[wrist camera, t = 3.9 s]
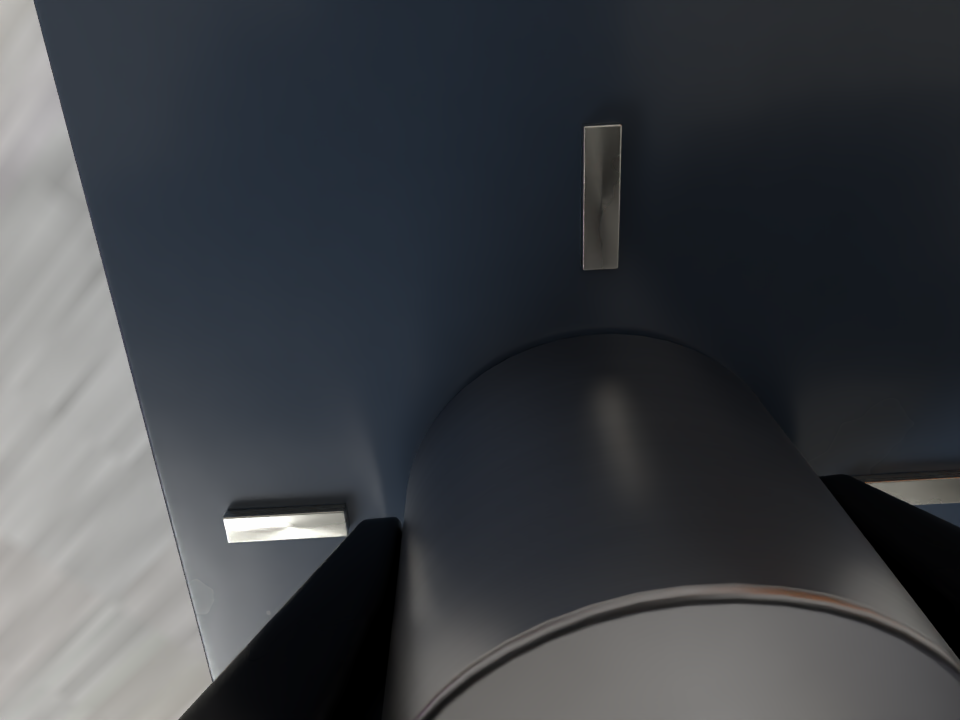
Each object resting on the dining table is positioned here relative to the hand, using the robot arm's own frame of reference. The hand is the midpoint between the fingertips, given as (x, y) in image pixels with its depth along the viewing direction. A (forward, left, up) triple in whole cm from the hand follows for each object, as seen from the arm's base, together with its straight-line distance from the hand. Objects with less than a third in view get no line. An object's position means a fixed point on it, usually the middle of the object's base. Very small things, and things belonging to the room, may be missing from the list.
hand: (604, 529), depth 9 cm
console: (0, 0, -4) cm, 4 cm away
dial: (0, 0, 0) cm, 0 cm away
